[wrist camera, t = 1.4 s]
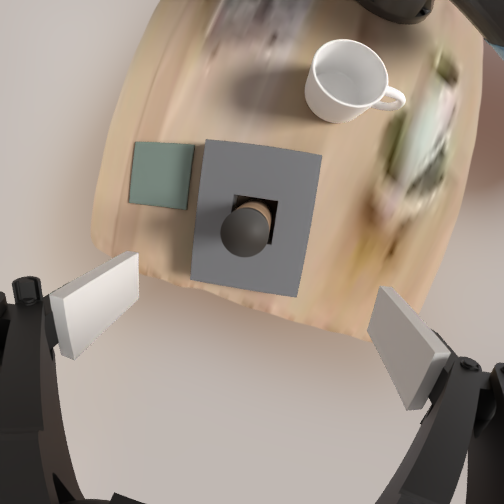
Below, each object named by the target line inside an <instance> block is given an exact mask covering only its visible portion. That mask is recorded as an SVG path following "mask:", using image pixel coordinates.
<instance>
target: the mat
mask: <svg viewBox="0 0 504 504" xmlns="http://www.w3.org/2000/svg"><path fill="white" fill-rule="evenodd" d="M194 147H195V145H191V144H177V143H158V142H136V143H135V150H134V158H133V167H132V176H131V187H130V199H129V203H136V204H144V205H153V206H161V207H168V208H176V209H184V210H187V202H188V193H189V185H190V176H191V169H192V161H193V154H194Z"/></svg>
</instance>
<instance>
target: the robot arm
mask: <svg viewBox="0 0 504 504" xmlns="http://www.w3.org/2000/svg"><path fill="white" fill-rule="evenodd" d="M357 1H358V2H359V3H360V4H361V5H362V6H364V7H365V8H366V9H368V10H369V11H371V12H372V13H374V14H376V15H378V16H380V17H382V18H384V19H387V20H389V21H392V22H396V23H400V24H416V23H419V22H421V21H423V20H424V19H425V18H426V17H427V16H428V15H429V14H430V13H431V11H432V9H433V5H434V0H357ZM450 1H451V2H452V3H453V4H454V5H455V6H456V7H457V8H458V9H459V10H460V11H461V12H462V13H463V14H464V15H465V17H466V18H467V19H468V20H469V21H470V22H471V23H472V24H473V25H474V26H475V28H476V29H477V30H478V31H479V32H480V33H481V35H482V36H483V37H484V40H485V41H486V42H487V43H488V44H489V45H491V46H492V47H493V48H494V50H495V51H496V52H497V54H498V55H499V56H500V57H501V59H502V60H503V61H504V0H450ZM138 255H139V253H138V252H131V251H125V252H123V253H122V254H120V255H118V256H116V257H114V258H112V259H110V260H109V261H107V262H105V263H103V264H101V265H100V266H98V267H96V268H94V269H92V270H91V271H89V272H87V273H85V274H83V275H82V276H80V277H78V278H76V279H75V280H73V281H71V282H69V283H67V284H65V285H63V286H62V287H60V288H58V289H57V290H55V291H53V292H52V293H50V294H48V295H47V296H45V297H43V295H42V289H41V281H40V279H39V278H37V277H33V276H27V277H21V278H18V279H16V280H14V281H13V283H12V287H13V293H14V298H15V304H8V303H7V302H6V297H5V293H3V292H0V504H145V503H141V502H139V501H136V500H133V499H130V498H127V497H125V496H122V495H119V494H117V493H114V494H113V496H112V499H111V500H110V501H108V500H99V499H85V498H84V496H83V494H82V493H81V491H80V489H79V486H78V483H77V480H76V477H75V473H74V470H73V467H72V462H71V458H70V454H69V450H68V446H67V441H66V436H65V431H64V426H63V421H62V415H61V408H60V401H59V395H58V385H57V376H56V363H55V353H54V350H53V347H54V346H55V345H56V344H58V343H59V347H60V351H61V355H63V356H66V357H68V358H70V359H73V360H76V359H77V358H78V357H79V356H80V354H82V353H83V352H84V351H85V350H86V349H87V348H88V347H89V346H90V345H91V344H92V343H93V342H94V341H95V340H96V339H97V338H98V337H99V336H100V335H101V334H102V333H103V332H104V331H105V330H106V329H107V328H108V327H109V326H110V325H111V324H113V322H115V320H117V319H118V318H119V317H120V316H121V315H122V314H123V313H124V312H125V311H126V310H127V309H128V308H129V307H131V306H132V305H133V304H134V303H135V302H136V301H137V300H138V299H139V277H138V276H139V270H138ZM367 332H368V334H369V336H370V337H371V339H372V341H373V343H374V345H375V347H376V349H377V351H378V353H379V355H380V357H381V359H382V361H383V363H384V365H385V367H386V369H387V371H388V373H389V375H390V377H391V379H392V381H393V383H394V385H395V387H396V389H397V391H398V393H399V396H400V398H401V400H402V402H403V404H404V406H405V408H406V410H418V409H422V408H423V406H424V405H425V403H426V401H427V399H428V397H429V399H430V401H431V403H432V405H431V406H430V408H429V410H428V411H427V413H426V415H425V416H424V418H423V420H422V421H421V423H420V424H421V427H420V429H419V431H418V433H417V435H416V437H415V439H414V441H413V443H412V445H411V447H410V449H409V450H408V452H407V454H406V456H405V457H404V459H403V461H402V463H401V464H400V466H399V468H398V469H397V471H396V473H395V474H394V476H393V478H392V479H391V481H390V482H389V484H388V485H387V487H386V488H385V490H384V491H383V493H382V494H381V496H380V497H379V499H378V500H377V502H376V503H375V504H450V502H451V499H452V497H453V494H454V491H455V489H456V486H457V483H458V480H459V477H460V474H461V471H462V468H463V465H464V461H465V458H466V454H467V451H468V477H467V494H466V504H504V363H497V364H496V365H495V367H494V368H493V371H492V372H491V373H489V372H482V369H481V366H480V365H479V364H478V363H477V362H476V361H474V360H472V359H471V358H468V357H458V356H457V355H456V354H455V353H454V351H453V350H452V349H451V348H450V347H449V346H448V345H447V344H446V342H445V341H443V339H442V338H441V336H440V335H439V334H438V333H436V332H435V331H433V330H432V329H430V328H429V327H428V326H427V324H426V323H425V322H424V321H423V320H422V319H421V318H420V316H419V315H418V314H417V313H416V312H415V311H414V310H413V309H412V308H411V307H410V306H409V305H408V303H407V302H406V301H405V300H404V299H403V298H402V297H401V296H400V295H399V294H398V293H397V292H396V291H395V290H394V289H393V288H392V287H387V286H380V287H379V291H378V294H377V298H376V302H375V305H374V309H373V312H372V316H371V319H370V322H369V326H368V329H367Z"/></svg>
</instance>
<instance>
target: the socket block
mask: <svg viewBox="0 0 504 504" xmlns="http://www.w3.org/2000/svg"><path fill="white" fill-rule="evenodd" d="M321 160H322V155H317V154H312V153H306V152H301V151H295V150H289V149H282V148H276V147H269V146H262V145H255V144H247V143H238V142H229V141H219V140H208V139H206V142H205V149H204V156H203V163H202V170H201V178H200V186H199V194H198V203H197V212H196V221H195V231H194V241H193V252H192V264H191V276H190V280H194V281H200V282H205V283H211V284H216V285H222V286H228V287H234V288H240V289H246V290H252V291H258V292H264V293H270V294H277V295H283V296H290V297H296V298H297V293H298V288H299V284H300V279H301V274H302V269H303V264H304V259H305V254H306V249H307V243H308V238H309V233H310V227H311V222H312V216H313V210H314V204H315V198H316V192H317V186H318V180H319V173H320V167H321ZM238 195H242V196H249V197H255V198H262V199H268V200H275V201H278V204H277V211H276V217H275V223H274V230H273V236H272V238H268V242H267V244H266V246H265V248H264V249H263V250H262V251H261V252H260V253H258V254H257V255H255V256H252V257H238V256H236V255H233V254H232V253H230V252H229V251H228V250H227V249H226V248H225V246H224V245H223V243H222V240H221V236H220V230H221V226H222V223H223V221H224V220H225V218H226V217H227V216H228V215H229V214H231V213H232V212H233V211H235V210H236V204H237V196H238Z"/></svg>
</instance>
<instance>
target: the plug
mask: <svg viewBox="0 0 504 504" xmlns="http://www.w3.org/2000/svg"><path fill="white" fill-rule="evenodd" d="M271 218H272V213H271V210H270V207H269V206H268V205H267V204H266V203H265V202H264V201H262V200H258V199H252V200H249V201H247V202H245V203H244V204H243V205H241V206H240V207H239V208H237V209H236V210H235V211H233V212H232V213H231V214H229V215H228V216H227V217H226V218H225V220H224V221H223V223H222V226H221V230H220V236H221V240H222V243H223V245H224V246H225V248H226V249H227V250H228V251H229V252H230V253H232V254H233V255H236V256H238V257H252V256H255V255H257V254H258V253H260V252H261V251H262V250H263V249H264V248H265V246H266V244H267V242H268V238H269V232H270V225H271Z"/></svg>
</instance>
